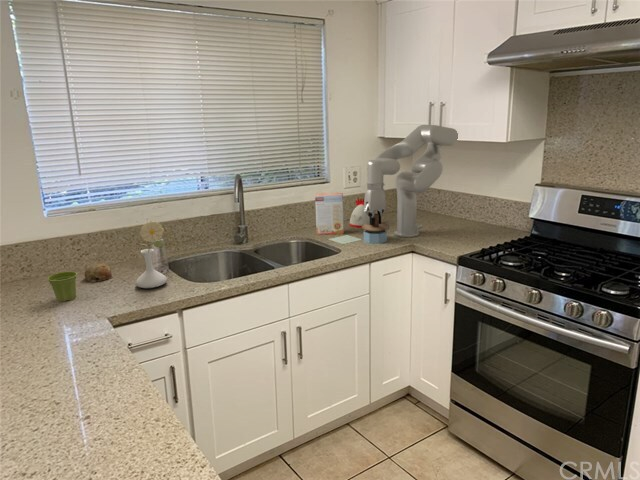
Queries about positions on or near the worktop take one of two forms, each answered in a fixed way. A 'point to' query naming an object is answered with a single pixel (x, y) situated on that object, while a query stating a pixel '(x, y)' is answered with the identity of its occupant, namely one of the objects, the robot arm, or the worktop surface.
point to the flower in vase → (151, 276)
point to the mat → (345, 239)
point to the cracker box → (329, 213)
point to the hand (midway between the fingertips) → (375, 224)
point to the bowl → (375, 236)
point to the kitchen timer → (359, 215)
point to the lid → (377, 226)
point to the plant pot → (63, 285)
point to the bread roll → (98, 272)
